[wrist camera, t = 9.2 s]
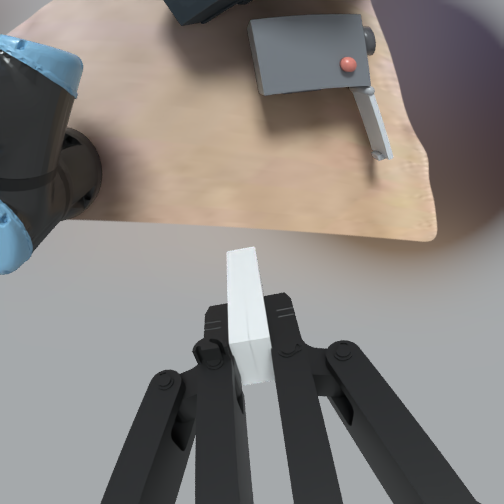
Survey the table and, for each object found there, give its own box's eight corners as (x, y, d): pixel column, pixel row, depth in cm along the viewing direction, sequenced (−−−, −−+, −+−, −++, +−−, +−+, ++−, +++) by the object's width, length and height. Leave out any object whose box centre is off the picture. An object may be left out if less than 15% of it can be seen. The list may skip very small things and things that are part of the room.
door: (343, 86, 41) (360, 89, 36) (354, 83, 41) (372, 85, 35) (367, 153, 47) (384, 164, 41) (377, 149, 47) (395, 160, 41)
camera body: (259, 94, 42) (265, 97, 35) (246, 28, 36) (250, 18, 30) (365, 84, 41) (389, 87, 35) (356, 21, 36) (379, 14, 29)
